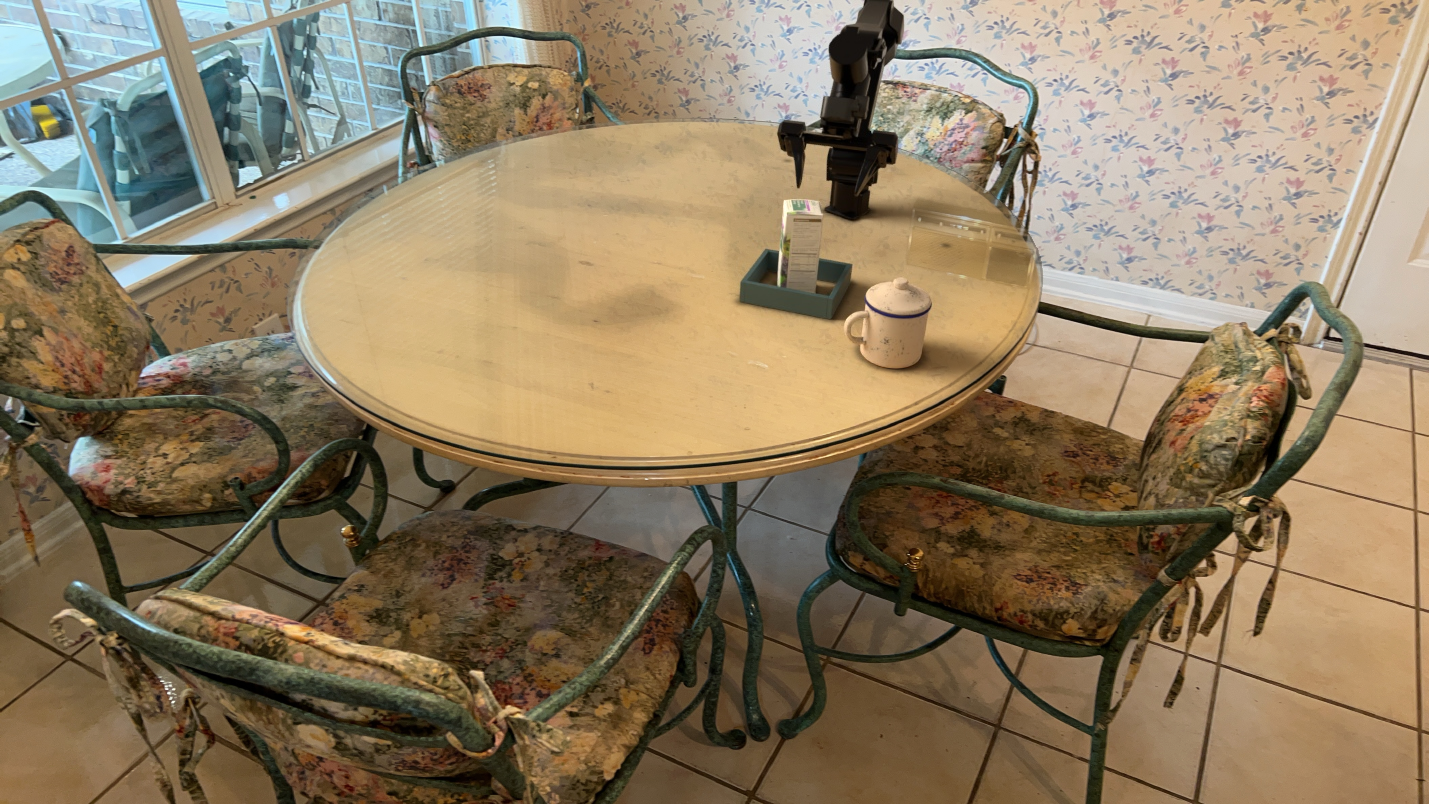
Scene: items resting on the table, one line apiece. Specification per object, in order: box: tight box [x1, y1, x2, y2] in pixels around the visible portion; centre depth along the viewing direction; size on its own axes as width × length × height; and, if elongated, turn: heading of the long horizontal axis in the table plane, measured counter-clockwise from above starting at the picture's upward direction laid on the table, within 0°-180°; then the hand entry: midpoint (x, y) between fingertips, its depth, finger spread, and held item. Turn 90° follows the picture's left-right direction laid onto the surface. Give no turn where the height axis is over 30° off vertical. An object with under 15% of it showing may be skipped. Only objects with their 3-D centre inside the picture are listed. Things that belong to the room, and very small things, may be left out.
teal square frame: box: [739, 248, 853, 320], centre depth 142 cm, size 13×15×4 cm
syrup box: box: [776, 198, 824, 293], centre depth 138 cm, size 6×6×14 cm
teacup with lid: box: [843, 276, 933, 369], centre depth 125 cm, size 12×9×12 cm
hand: (826, 191), depth 141 cm, fingers open, 9 cm apart
